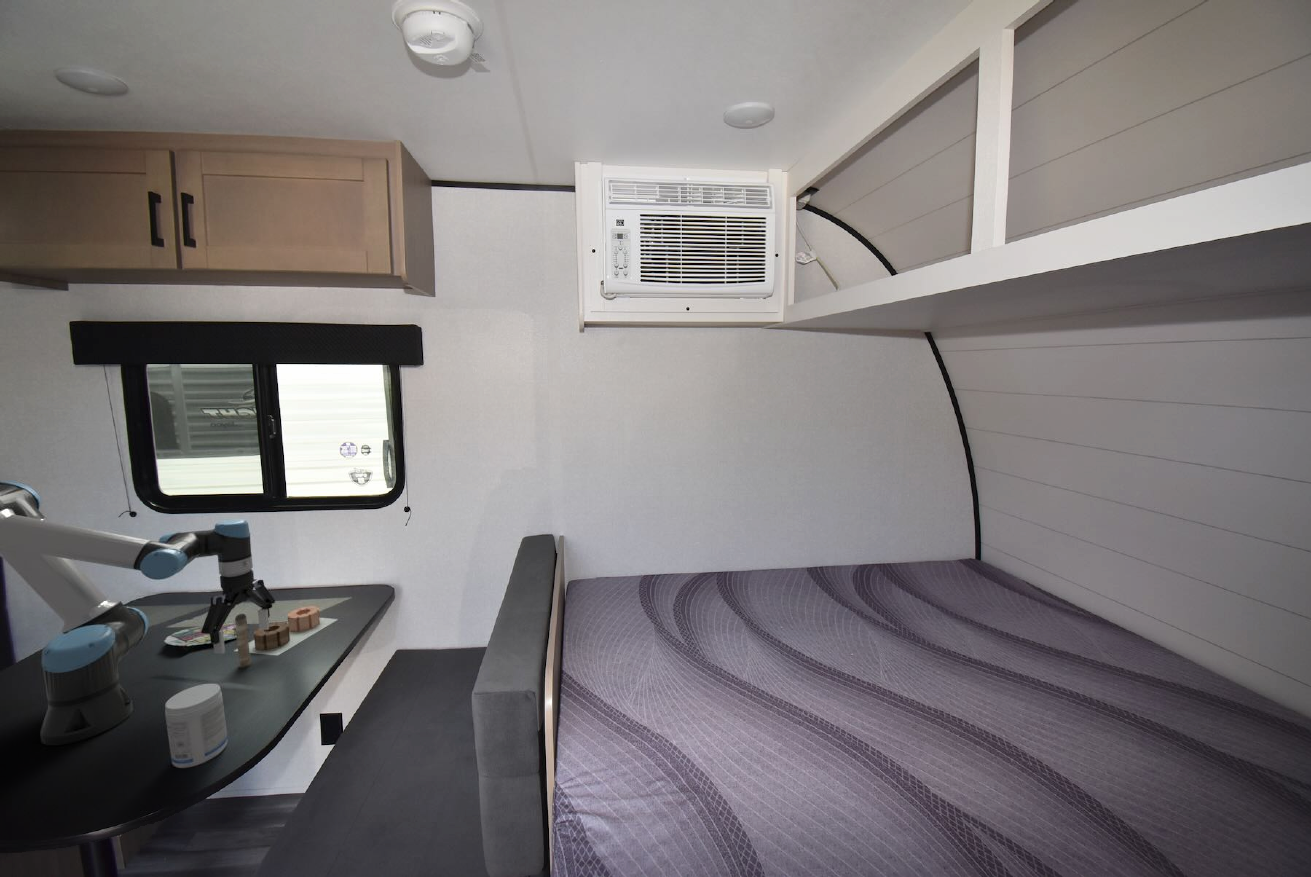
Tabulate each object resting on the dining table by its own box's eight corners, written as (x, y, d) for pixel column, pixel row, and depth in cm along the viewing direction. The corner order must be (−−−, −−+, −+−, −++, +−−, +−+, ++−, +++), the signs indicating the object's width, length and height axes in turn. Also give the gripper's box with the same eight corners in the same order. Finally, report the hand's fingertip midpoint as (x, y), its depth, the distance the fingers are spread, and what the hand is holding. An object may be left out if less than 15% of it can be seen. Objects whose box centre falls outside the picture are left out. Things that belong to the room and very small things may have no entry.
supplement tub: (225, 733, 120) (219, 677, 118) (230, 753, 114) (224, 694, 112) (169, 755, 113) (163, 695, 111) (172, 777, 107) (165, 715, 105)
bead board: (277, 659, 152) (277, 655, 152) (233, 654, 155) (233, 650, 155) (338, 622, 176) (338, 619, 176) (299, 618, 178) (299, 615, 178)
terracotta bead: (304, 632, 166) (303, 618, 166) (282, 630, 167) (281, 616, 167) (325, 620, 175) (324, 607, 174) (304, 618, 176) (303, 605, 176)
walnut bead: (272, 651, 154) (271, 636, 154) (248, 649, 156) (246, 634, 155) (296, 637, 163) (295, 623, 162) (273, 635, 164) (272, 621, 164)
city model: (278, 629, 176) (278, 612, 176) (212, 657, 152) (213, 637, 152) (215, 626, 178) (215, 609, 178) (141, 653, 155) (141, 634, 155)
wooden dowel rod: (244, 671, 146) (239, 616, 144) (237, 670, 146) (232, 615, 144) (253, 666, 148) (248, 612, 146) (245, 665, 149) (240, 611, 147)
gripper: (202, 590, 131) (210, 665, 133) (285, 558, 156) (290, 621, 158) (178, 588, 132) (186, 662, 135) (265, 556, 157) (270, 619, 159)
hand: (243, 640), depth 146 cm, fingers open, 13 cm apart
